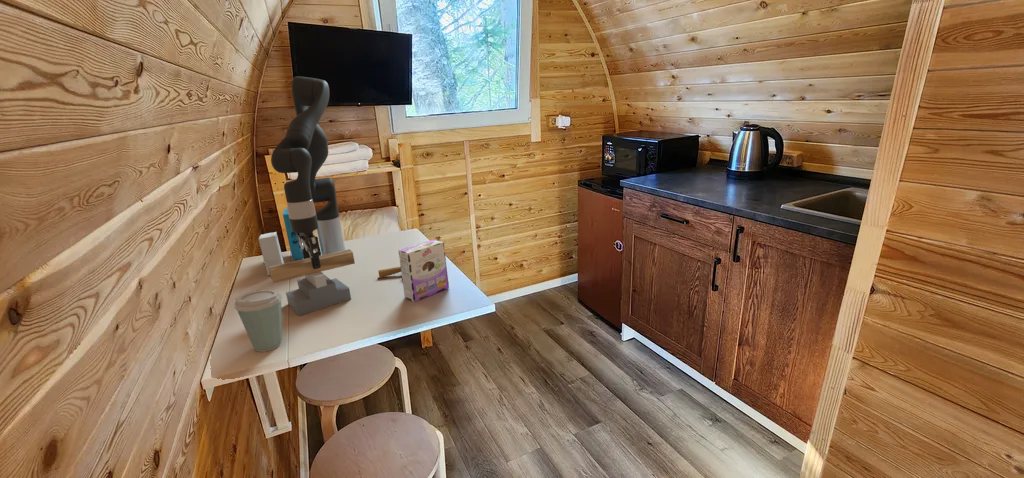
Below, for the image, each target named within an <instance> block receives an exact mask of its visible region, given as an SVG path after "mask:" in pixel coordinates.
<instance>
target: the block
mask: <svg viewBox="0 0 1024 478" xmlns="http://www.w3.org/2000/svg"><path fill="white" fill-rule="evenodd" d="M282 217H283V222H284V223H283V224H284V226H285V232H286V237H287V240H288V245H289V246H288V247H289V250H290V254H291V257H292V261H297V260H302V259H304V257H303V251H301V248H299V244H298V239H297V234H296V233H294V232H293V231H292V229H291V224H290V219H289V214H288V209H287V208H284V209H283V212H282Z"/></svg>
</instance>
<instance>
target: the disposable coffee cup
mask: <svg viewBox="0 0 1024 478" xmlns="http://www.w3.org/2000/svg"><path fill="white" fill-rule="evenodd" d="M282 298H283V297H282V295H281V293H279V292H278V291H277V290H276V289H259V290H254V291H250V292H246V293H244V294H240V295H239V296H238V297H237V298H235V302H234V303H233V304H234V309H235V310H236V311H237V313H238V316H239V317H240V320H241V322H242V325H243V328H244V330H245V332H246V334H247V336H248V338H249V341H250V343H251V346H252V347H253V349H254V350H255V351H256V352H259V353H263V352H271V351H272V350H274V349H277V348H279V347H280V346H281V344H282V341H283V331H282V330H283V326H282Z"/></svg>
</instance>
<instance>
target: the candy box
mask: <svg viewBox="0 0 1024 478" xmlns="http://www.w3.org/2000/svg"><path fill="white" fill-rule="evenodd" d="M398 257H399V263H400V267H401V272H400V273H401V278H402V286H403V293H404V298H406V299H407V300H410V301H411V302H413V303H415V302H417V301H420V300H422V299H425V298H428V297H430V296H432V295H436V294H437V293H440V292H442V291H445V290H447V289H449V288H450V285H449V284H450V283H449V275H448V269H447V259H446V251H445V243H444V241H441V240H437V239H431V240H428V241H424V242H421V243H418V244H414V245H411V246H408V247H405V248H401V249H398Z"/></svg>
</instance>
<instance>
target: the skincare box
mask: <svg viewBox="0 0 1024 478" xmlns="http://www.w3.org/2000/svg"><path fill="white" fill-rule="evenodd" d="M258 243H259V247H260V251H261V255H262V258H263V262H264V267H265V270H266V274H267V276H271V274H270V270H269V267H270V266H275V265H279V264H284V263H285V261H284V258H283V257H284V256H283V254H282V250H281V249H282V248H281V246H280V245H281V244H280V242H279V237H278V233H277V231H275V232H274V231H273V232H267V233H263V234H260V235H259V237H258Z"/></svg>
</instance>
